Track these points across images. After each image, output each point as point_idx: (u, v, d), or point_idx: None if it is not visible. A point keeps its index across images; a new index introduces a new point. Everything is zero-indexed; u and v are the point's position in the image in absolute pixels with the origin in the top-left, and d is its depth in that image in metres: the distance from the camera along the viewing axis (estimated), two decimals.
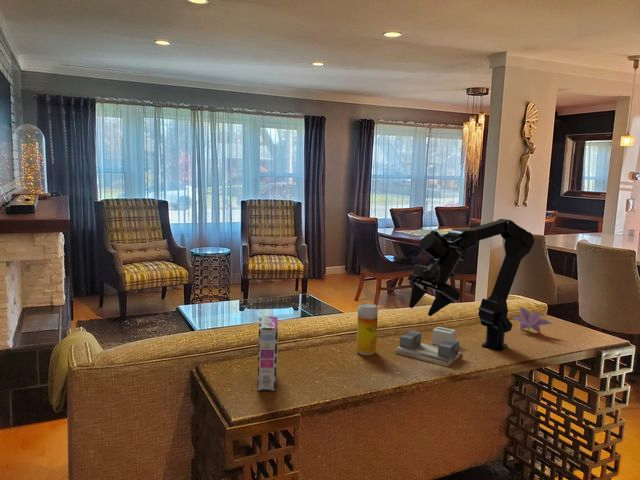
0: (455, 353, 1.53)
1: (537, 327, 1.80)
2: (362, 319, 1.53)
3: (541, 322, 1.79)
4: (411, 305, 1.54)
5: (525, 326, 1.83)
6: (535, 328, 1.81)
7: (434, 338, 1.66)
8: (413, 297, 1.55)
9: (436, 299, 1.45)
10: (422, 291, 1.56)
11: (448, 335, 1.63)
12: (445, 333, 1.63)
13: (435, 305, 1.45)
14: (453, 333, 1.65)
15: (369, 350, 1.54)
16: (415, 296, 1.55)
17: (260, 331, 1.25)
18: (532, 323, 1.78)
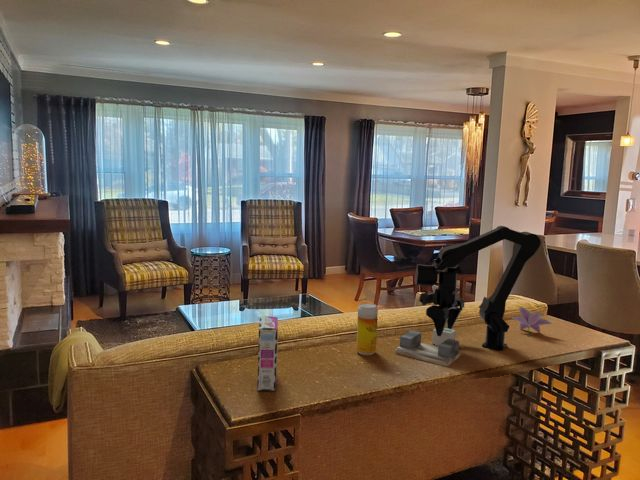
0: (455, 353, 1.53)
1: (537, 327, 1.80)
2: (362, 319, 1.53)
3: (540, 322, 1.79)
4: (448, 327, 1.70)
5: (525, 326, 1.84)
6: (535, 328, 1.81)
7: (434, 338, 1.66)
8: (447, 319, 1.70)
9: None
10: (455, 311, 1.68)
11: (448, 335, 1.63)
12: (445, 333, 1.63)
13: (436, 326, 1.61)
14: (453, 333, 1.65)
15: (369, 350, 1.54)
16: (449, 318, 1.69)
17: (260, 331, 1.25)
18: (532, 323, 1.78)
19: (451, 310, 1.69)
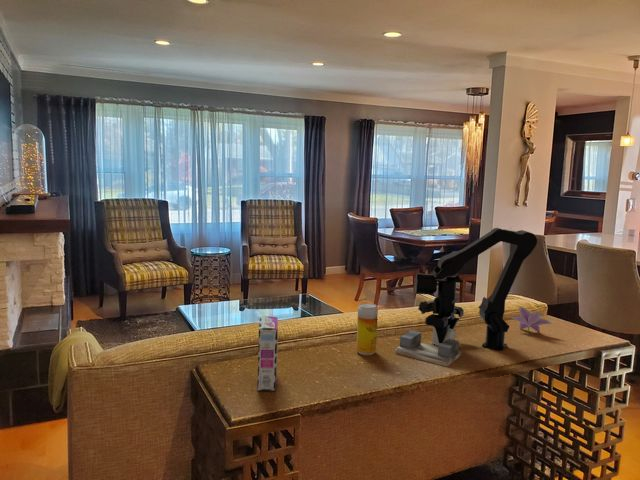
0: (455, 353, 1.53)
1: (536, 327, 1.81)
2: (362, 319, 1.53)
3: (540, 322, 1.79)
4: None
5: (525, 326, 1.84)
6: (534, 328, 1.81)
7: (434, 338, 1.66)
8: None
9: None
10: (451, 321, 1.67)
11: (448, 335, 1.63)
12: None
13: (438, 333, 1.63)
14: (453, 333, 1.65)
15: (369, 350, 1.54)
16: None
17: (260, 331, 1.25)
18: (532, 323, 1.78)
19: (448, 320, 1.68)
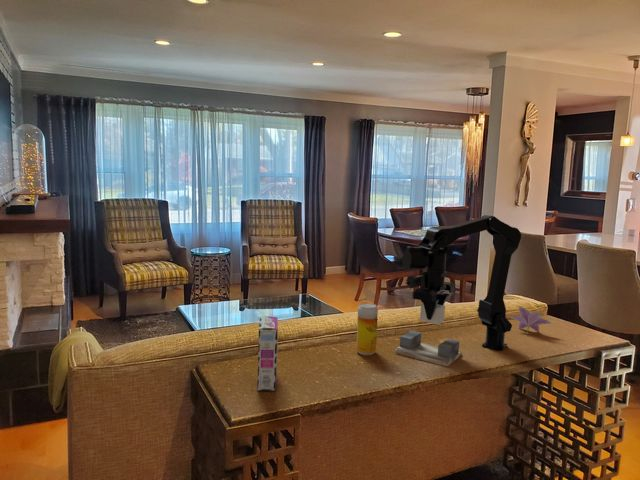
0: (455, 353, 1.53)
1: (536, 326, 1.81)
2: (362, 319, 1.53)
3: (540, 321, 1.79)
4: None
5: (524, 326, 1.84)
6: (534, 327, 1.82)
7: (422, 314, 1.56)
8: None
9: None
10: (441, 297, 1.57)
11: (437, 310, 1.53)
12: None
13: (426, 309, 1.54)
14: (442, 308, 1.55)
15: (369, 350, 1.54)
16: None
17: (260, 331, 1.25)
18: (531, 322, 1.79)
19: (437, 296, 1.58)
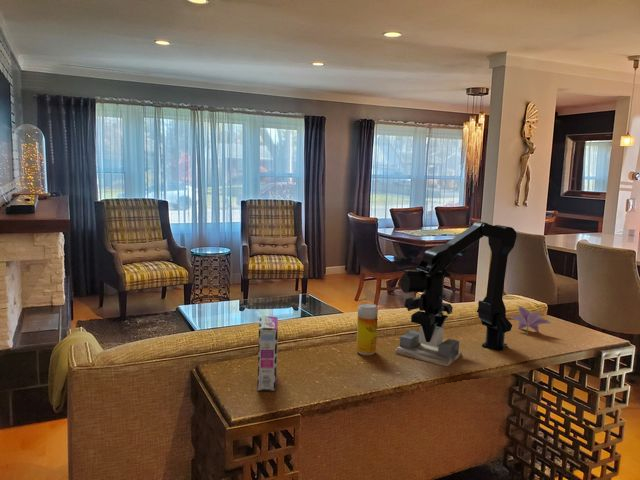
0: (455, 353, 1.53)
1: (535, 326, 1.81)
2: (362, 319, 1.53)
3: (539, 321, 1.80)
4: None
5: (524, 325, 1.84)
6: (533, 327, 1.82)
7: (421, 336, 1.56)
8: None
9: None
10: (439, 318, 1.58)
11: (435, 333, 1.53)
12: None
13: (425, 332, 1.54)
14: (441, 331, 1.55)
15: (369, 350, 1.54)
16: None
17: (260, 331, 1.25)
18: (531, 322, 1.79)
19: (436, 317, 1.58)
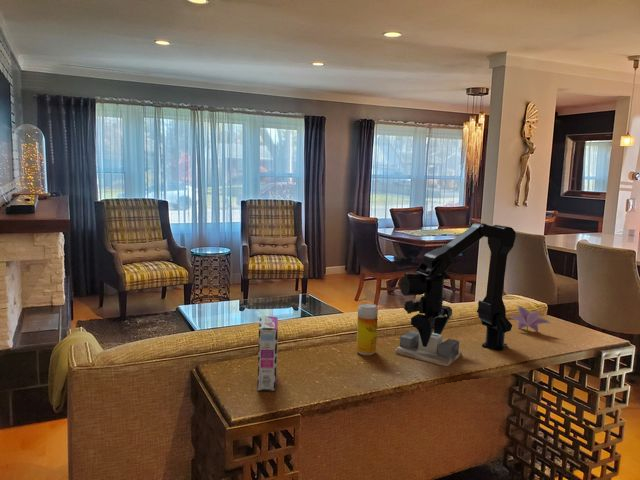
0: (455, 353, 1.53)
1: (535, 326, 1.82)
2: (362, 319, 1.53)
3: (539, 321, 1.80)
4: None
5: (523, 325, 1.85)
6: (533, 327, 1.82)
7: (420, 343, 1.57)
8: (434, 328, 1.61)
9: None
10: (442, 320, 1.60)
11: (435, 340, 1.54)
12: (432, 338, 1.54)
13: (422, 336, 1.52)
14: (440, 338, 1.56)
15: (369, 350, 1.54)
16: (436, 327, 1.61)
17: (260, 331, 1.25)
18: (530, 322, 1.79)
19: (438, 319, 1.60)
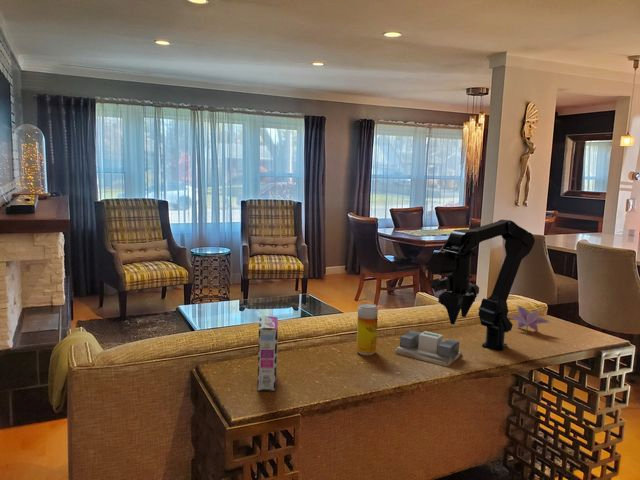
0: (455, 353, 1.53)
1: (535, 326, 1.82)
2: (362, 319, 1.53)
3: (538, 320, 1.80)
4: (462, 314, 1.60)
5: (523, 325, 1.85)
6: (532, 327, 1.83)
7: (420, 343, 1.57)
8: (461, 306, 1.61)
9: None
10: (469, 298, 1.59)
11: (435, 340, 1.54)
12: (432, 338, 1.54)
13: (450, 314, 1.52)
14: (440, 338, 1.56)
15: (369, 350, 1.54)
16: (463, 305, 1.60)
17: (260, 331, 1.25)
18: (530, 322, 1.80)
19: (465, 297, 1.60)
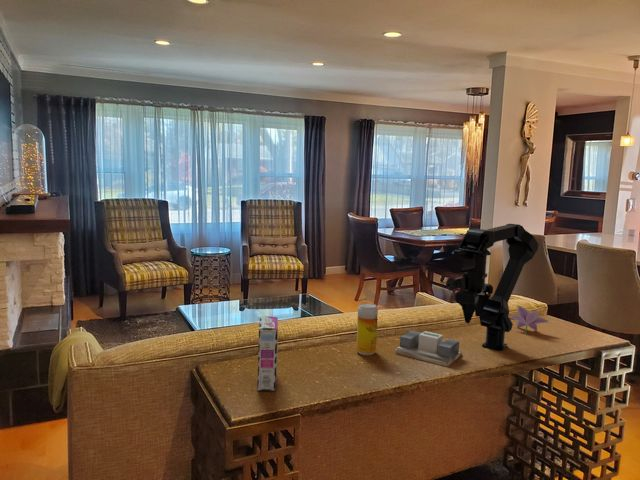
0: (455, 353, 1.53)
1: (534, 325, 1.82)
2: (362, 319, 1.53)
3: (538, 320, 1.81)
4: (476, 314, 1.60)
5: (522, 325, 1.85)
6: (532, 326, 1.83)
7: (420, 343, 1.57)
8: (475, 306, 1.61)
9: None
10: (483, 297, 1.59)
11: (435, 340, 1.54)
12: (432, 338, 1.54)
13: (465, 312, 1.52)
14: (440, 338, 1.56)
15: (369, 350, 1.54)
16: (477, 304, 1.60)
17: (260, 331, 1.25)
18: (530, 321, 1.80)
19: (479, 296, 1.60)
